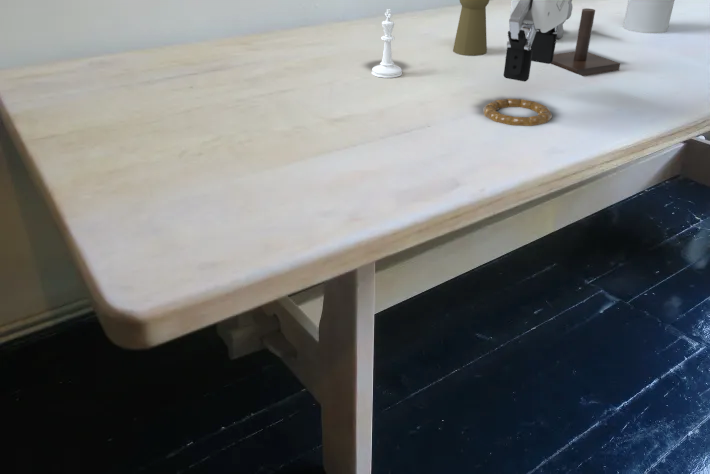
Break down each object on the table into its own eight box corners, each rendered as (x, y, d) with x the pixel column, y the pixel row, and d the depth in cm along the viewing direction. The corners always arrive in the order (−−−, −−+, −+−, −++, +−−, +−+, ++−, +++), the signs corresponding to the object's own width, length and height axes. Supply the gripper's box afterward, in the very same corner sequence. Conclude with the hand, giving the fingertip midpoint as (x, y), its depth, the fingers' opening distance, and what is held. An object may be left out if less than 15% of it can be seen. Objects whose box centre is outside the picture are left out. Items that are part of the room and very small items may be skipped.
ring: (564, 125, 87) (566, 113, 87) (509, 135, 84) (511, 123, 83) (522, 104, 94) (523, 93, 93) (470, 113, 91) (471, 102, 90)
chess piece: (379, 79, 104) (381, 13, 99) (366, 71, 108) (367, 7, 103) (407, 75, 106) (410, 11, 101) (393, 67, 110) (395, 5, 105)
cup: (669, 33, 131) (684, -32, 125) (661, 41, 125) (677, -26, 119) (627, 27, 135) (640, -36, 129) (617, 36, 129) (630, -30, 123)
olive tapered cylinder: (466, 45, 123) (472, -18, 117) (493, 51, 119) (500, -14, 114) (446, 50, 119) (450, -14, 114) (473, 57, 116) (479, -9, 110)
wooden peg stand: (619, 70, 109) (630, 12, 104) (576, 77, 106) (586, 17, 101) (581, 57, 116) (590, 2, 111) (539, 63, 113) (548, 6, 108)
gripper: (558, -61, 72) (534, 92, 81) (599, -73, 85) (574, 60, 94) (493, -66, 76) (477, 81, 84) (542, -77, 88) (523, 52, 97)
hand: (528, 70), depth 89 cm, fingers open, 9 cm apart
